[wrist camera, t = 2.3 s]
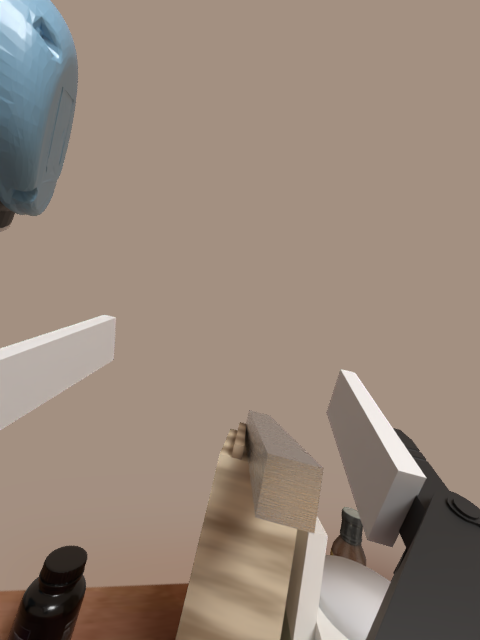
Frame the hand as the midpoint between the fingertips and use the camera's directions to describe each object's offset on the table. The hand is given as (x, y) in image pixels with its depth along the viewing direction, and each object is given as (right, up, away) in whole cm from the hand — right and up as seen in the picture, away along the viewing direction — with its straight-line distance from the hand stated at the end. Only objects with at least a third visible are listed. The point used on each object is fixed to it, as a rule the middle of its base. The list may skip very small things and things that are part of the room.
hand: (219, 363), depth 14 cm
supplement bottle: (-24, -40, +15) cm, 49 cm away
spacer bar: (+4, -15, +17) cm, 23 cm away
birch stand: (-3, -45, +16) cm, 47 cm away
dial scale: (+15, -33, +13) cm, 38 cm away
